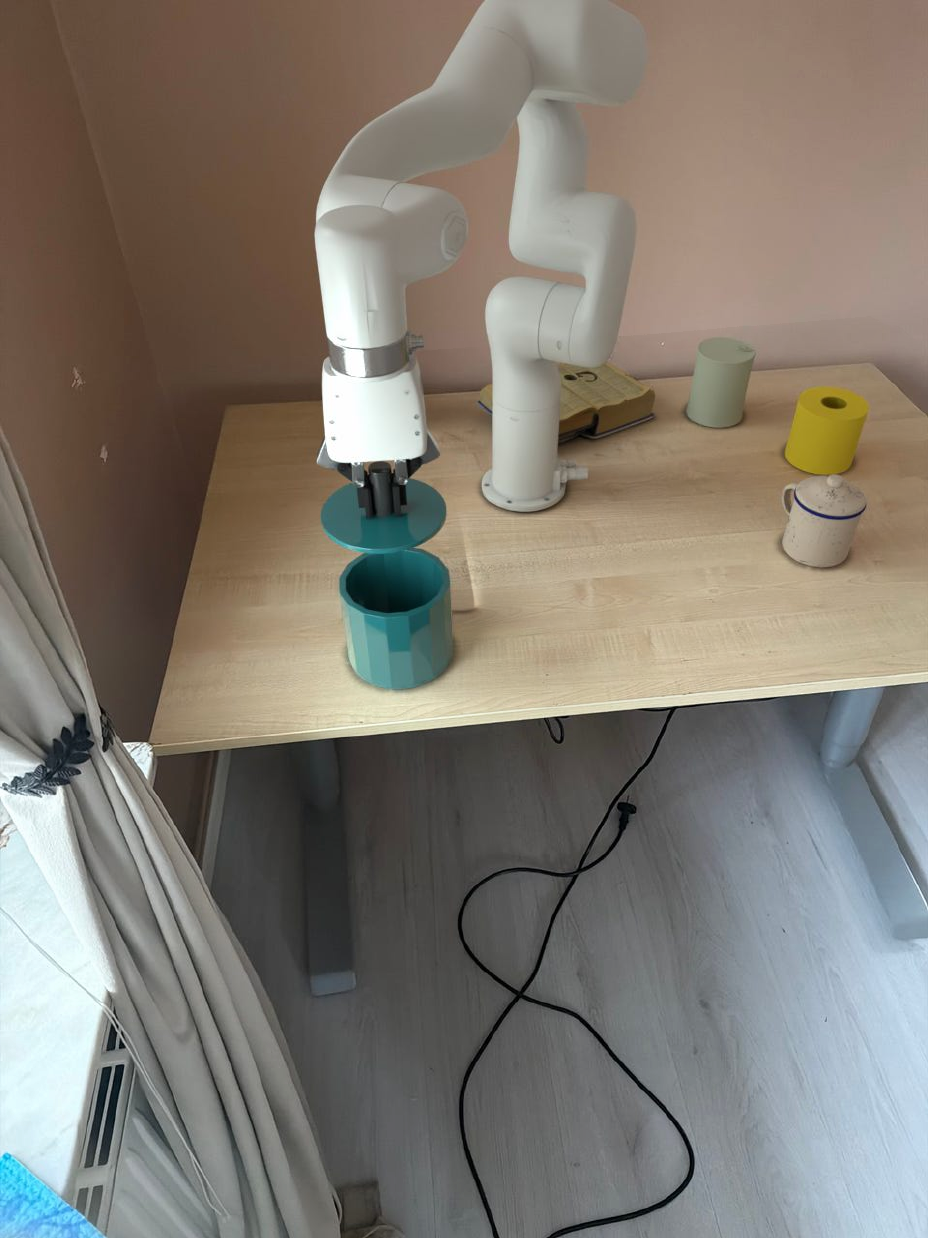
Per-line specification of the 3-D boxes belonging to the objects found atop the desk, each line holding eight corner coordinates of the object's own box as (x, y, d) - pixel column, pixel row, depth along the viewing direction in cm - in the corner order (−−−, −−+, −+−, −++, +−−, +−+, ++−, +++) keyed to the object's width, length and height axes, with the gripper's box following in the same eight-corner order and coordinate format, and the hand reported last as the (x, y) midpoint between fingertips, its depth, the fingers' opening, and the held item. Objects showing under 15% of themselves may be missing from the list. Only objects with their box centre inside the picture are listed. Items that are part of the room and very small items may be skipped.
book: (595, 378, 160) (598, 347, 156) (654, 418, 150) (659, 386, 146) (476, 416, 151) (475, 384, 147) (530, 461, 141) (531, 428, 137)
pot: (447, 613, 115) (445, 542, 107) (456, 685, 106) (454, 612, 98) (349, 621, 114) (339, 550, 106) (349, 693, 105) (338, 621, 97)
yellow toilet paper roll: (814, 480, 135) (830, 425, 129) (771, 449, 142) (784, 395, 136) (865, 465, 138) (883, 410, 132) (821, 434, 145) (836, 381, 139)
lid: (442, 480, 103) (440, 429, 98) (451, 553, 93) (450, 500, 88) (323, 488, 102) (315, 437, 98) (319, 562, 92) (311, 509, 88)
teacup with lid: (863, 557, 122) (889, 485, 114) (812, 577, 119) (835, 505, 111) (800, 511, 130) (820, 441, 122) (751, 530, 127) (769, 459, 119)
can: (747, 427, 147) (762, 359, 139) (691, 428, 147) (703, 360, 139) (735, 399, 154) (749, 333, 146) (682, 400, 154) (692, 334, 146)
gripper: (450, 328, 87) (455, 486, 100) (284, 337, 87) (309, 495, 99) (457, 363, 82) (461, 526, 94) (280, 373, 81) (307, 536, 93)
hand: (383, 509), depth 97 cm, fingers closed on lid, 2 cm apart
